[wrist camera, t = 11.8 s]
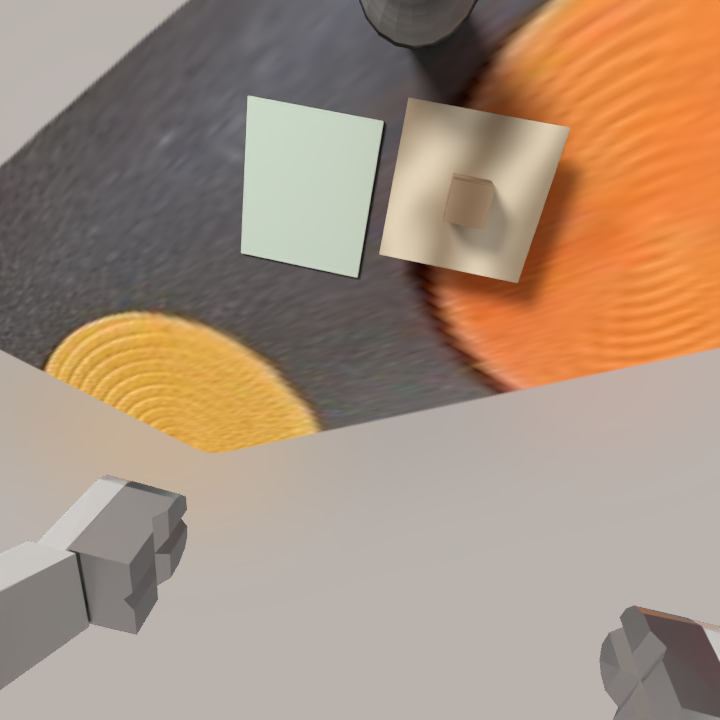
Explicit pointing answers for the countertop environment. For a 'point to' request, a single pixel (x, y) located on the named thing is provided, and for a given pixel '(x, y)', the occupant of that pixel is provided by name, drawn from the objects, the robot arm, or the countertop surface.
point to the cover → (469, 188)
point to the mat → (308, 184)
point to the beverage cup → (417, 20)
